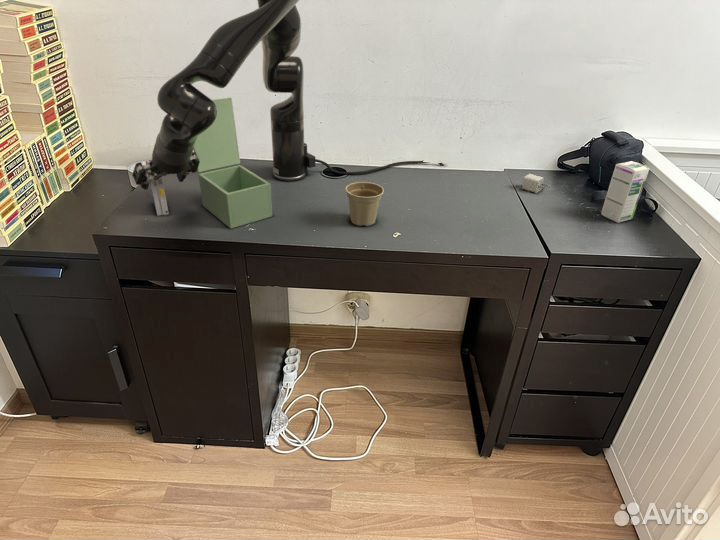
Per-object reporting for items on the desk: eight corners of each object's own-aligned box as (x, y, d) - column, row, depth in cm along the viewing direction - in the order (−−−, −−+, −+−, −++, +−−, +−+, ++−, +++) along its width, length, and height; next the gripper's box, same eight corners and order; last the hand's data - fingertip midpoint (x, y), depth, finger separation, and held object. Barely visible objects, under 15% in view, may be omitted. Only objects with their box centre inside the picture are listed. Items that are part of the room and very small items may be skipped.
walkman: (153, 203, 131) (144, 159, 124) (165, 202, 132) (156, 158, 125) (157, 216, 125) (148, 170, 118) (169, 214, 126) (160, 168, 119)
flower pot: (386, 216, 129) (388, 185, 125) (375, 232, 122) (377, 199, 117) (352, 210, 132) (353, 179, 127) (339, 225, 124) (339, 193, 119)
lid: (231, 97, 124) (221, 95, 128) (186, 103, 118) (177, 101, 122) (240, 163, 132) (230, 159, 136) (198, 172, 125) (189, 167, 129)
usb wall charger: (527, 185, 150) (530, 173, 148) (549, 192, 147) (553, 179, 145) (521, 189, 148) (524, 176, 146) (543, 196, 144) (547, 183, 142)
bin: (272, 216, 127) (270, 183, 122) (230, 228, 121) (226, 194, 116) (243, 195, 137) (240, 164, 132) (202, 205, 131) (198, 173, 126)
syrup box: (617, 223, 131) (636, 170, 123) (599, 214, 135) (616, 162, 127) (632, 219, 133) (651, 167, 125) (613, 210, 138) (631, 159, 130)
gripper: (146, 171, 103) (138, 203, 116) (211, 158, 111) (196, 189, 124) (132, 139, 104) (125, 174, 117) (198, 128, 111) (184, 162, 125)
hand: (162, 182), depth 121 cm, fingers open, 8 cm apart
